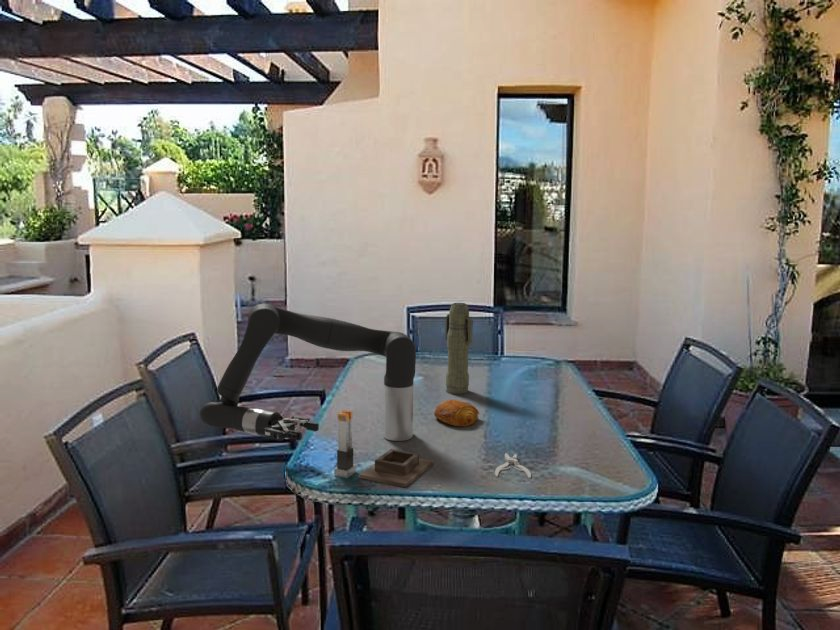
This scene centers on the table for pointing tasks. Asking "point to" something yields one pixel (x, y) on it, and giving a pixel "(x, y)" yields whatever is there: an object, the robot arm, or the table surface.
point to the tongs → (345, 445)
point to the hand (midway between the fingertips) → (309, 431)
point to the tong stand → (396, 468)
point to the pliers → (512, 461)
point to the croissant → (456, 413)
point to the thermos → (458, 348)
